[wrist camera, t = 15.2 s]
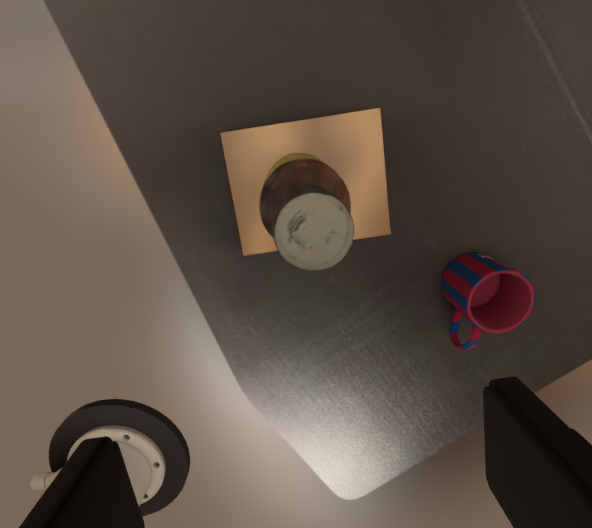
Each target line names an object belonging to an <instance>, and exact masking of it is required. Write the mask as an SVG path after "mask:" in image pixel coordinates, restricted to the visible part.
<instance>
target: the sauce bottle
mask: <svg viewBox="0 0 592 528" xmlns="http://www.w3.org/2000/svg"><path fill="white" fill-rule="evenodd" d="M259 208H260V215H261V219H262V222H263V225H264V227H265V229H266V230H267V232H268V233H269V234H270V235H271V236H272V237H273V238H274V242H275V245H276V247H277V250H278V252H279V253H280V255H281V256H282V257H283V258H284V259H285V260H286V261H287V262H289V263H290V264H291V265H293V266H295V267H297V268H298V269H303V270H310V271H319V270H323V269H327V268H330V267H332V266H333V265H336V264H337V263H338V262H340V261H341V260H342V259H343V258H344V256H345V255H346V254H347V253H348V251H349V249H350V247H351V245H352V243H353V237H354V223H353V219H352V216H351V214H350V212H351V201H350V194H349V191H348V189H347V186H346V184H345V183H344V181H343V179H342V178H341V177H340V176H339V175H338V173H337V172H336V171H335V170H334V169H333V168H332V167H330V166H329V165H327V164H326V163H324V162H323V161H321V160H320V159H318V158H316V157H315V156H313V155H310V154H305V153H294V154H289V155H287V156H284V157H282V158H281V159H279V160H278V161H277V162H276V163H275V164H274V165H273V166H272V168H271V169H270V171H269V173H268V175H267V177H266V180H265V182H264V185H263V188H262V191H261V195H260V202H259Z"/></svg>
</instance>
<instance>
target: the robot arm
mask: <svg viewBox="0 0 592 528" xmlns="http://www.w3.org/2000/svg"><path fill="white" fill-rule="evenodd" d="M483 400H484V429H485V430H484V431H485V463H486V478H487V481H488V484H489V487H490V489H491V491H492V493H493V494H494V496H495V498H496V499H497V501H498V503H499V504H500V506H501V508H502V509H503V511H504V512H505V514H506V516H507V518H508V519H509V521H510V522H511V524H512V526H513V527H514V528H592V445H591V444H590V443H589V442H587V440H585V439H584V438H583V437H582V436H581V435H580V434H579V433H578V432H576V431H575V430H574V429H571V428H569V427H568V426H567V425H566V424H565V423H564V422H563V421H562V420H561V419H560V418H559V417H558V416H557V415H556V414H554V413H553V412H552V411H551V410H550V409H549V408H548V407H547V406H546V405H545V404H544V403H543V402H542V401H541V400H540V399H539V398H538V397H537V396H536V395H535V394H534V393H533V392H532V391H531V390H530V389H529V388H528V387H527V386H526V385H525V384H523V383H522V382H521V381H520V380H519V379H518V378H517V377H507V378H501V379H494V380H491V381H490V383H489V386H488V387H485V388H484V390H483ZM165 472H166V464H165V460H164V456H163V454H162V452H161V450H160V449H159V447H158V446H157V445H156V443H155V442H153V441H152V440H151V439H150V438H149V437H148V436H146V435H145V434H143V433H142V432H139V431H137V430H135V429H132V428H129V427H125V426H118V425H106V426H101V427H96V428H94V429H92V430H89V431H87V432H86V433H84V434H83V435H82V436H81V437H80V438H79V439H78V440H77V441H76V442H75V444H74V445H73V446H72V448H71V450H70V452H69V454H68V458H67V462H66V463H65V465H64V466H63V468H61V469H59V470H58V471H57V472H54V473H51V472H48V473H39V474H36V475H34V476H33V477H32V480H31V484H30V487H31V489H32V490H33V491H36V490H43V489H47V490H46V491H45V493H44V494H43V495H42V497H41V498H40V499H39V501H38V502H37V503H36V505H35V507H34V508H33V509H32V510H31V512H30V513H29V515H28V516H27V517H26V519H25V520H24V522H23V523H22V524H21V526H20V527H19V528H145V527H144V521H143V517H142V514H141V511H140V508H139V506H140V504H142V503H144V502H146V501H148V500H149V499H151V498H152V497H153V496H154V495H155V494H156V493H157V492H158V490H159V489H160V487H161V485H162V482H163V480H164V477H165Z"/></svg>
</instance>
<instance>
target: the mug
mask: <svg viewBox="0 0 592 528" xmlns="http://www.w3.org/2000/svg"><path fill="white" fill-rule="evenodd" d="M442 290H443V293H444V295H445V297H446V298H447V299H448V301H449V302H450V303H451V304H452V305H453V306H454V307H455V308H456V309H455V312H454V314H453V317H452V320H451V324H450V339H451V342H452V344H453V345H454V346H455V347H457V348H458V349H460V350H464V351H469V350H471V349H472V348H474V347H475V345H476V344H477V342H478V340H479V338H480V336H481V333H482V331H485V332H488V333H504V332H507V331H510V330H513V329H514V328H516V327H518V326H519V325H521V324H522V323H523V322H524V321H525V320H526V319H527V317H528V316H529V315H530V313H531V311H532V309H533V306H534V302H535V292H534V288H533V286H532V283H531V282H530V281H529V279H528V278H527V277H526V276H524V275H523V274H521V273H519V272H517V271H516V270H514V269H512V268H510V267H508V266H506V265H504V264H502V263H501V262H499V261H497V260H495V259H493V258H491V257H489V256H487V255H485V254H482V253H467V254H464V255H461V256H459V257H458V258H456V259H455V260H453V261H452V262H451V263H450V264H449V265H448V267H447V268H446V270H445V272H444V274H443V278H442ZM463 315H464V316H465V317H466V318H467V319H468V320H469V321H470V322H471V323H472V331H471V334H470V337H469V339H468V340H467V342H466V343H465V344H463V345H462V344H461V343H460V341H459V339H458V328H459V324H460V321H461V319H462V317H463Z"/></svg>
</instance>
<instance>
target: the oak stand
mask: <svg viewBox="0 0 592 528" xmlns="http://www.w3.org/2000/svg"><path fill="white" fill-rule="evenodd" d="M220 135H221V140H222V145H223V151H224V156H225V161H226V166H227V172H228V177H229V182H230V187H231V193H232V198H233V203H234V208H235V214H236V219H237V224H238V229H239V234H240V240H241V245H242V250H243V255H244V256H246V255H253V254H259V253H266V252H273V251H278V250H277V247H276V245H275V242H274V238H273V237H272V236H271V235H270V234H269V233H268V232H267V230H266V229H265V227H264V225H263V222H262V219H261V215H260V208H259V202H260V195H261V191H262V188H263V185H264V182H265V180H266V177H267V175H268V173H269V171H270V169H271V168H272V166H273V165H274V164H275V163H276V162H277V161H278V160H279V159H281V158H282V157H284V156H287V155H289V154H294V153H305V154H310V155H313V156H315V157H316V158H318V159H320V160H321V161H323V162H324V163H326V164H327V165H329V166H330V167H332V168H333V169H334V170H335V171H336V172H337V173H338V175H339V176H340V177H341V178H342V179H343V181H344V183H345V184H346V186H347V189H348V191H349V194H350V201H351V212H350V214H351V216H352V219H353V223H354V237H353V240H355V239H362V238H369V237H376V236H383V235H389V234H391V232H390V220H389V208H388V196H387V183H386V171H385V159H384V147H383V135H382V123H381V111H380V108H375V109H369V110H363V111H356V112H350V113H343V114H337V115H331V116H324V117H318V118H311V119H305V120H299V121H292V122H286V123H279V124H273V125H266V126H260V127H254V128H247V129H241V130H234V131H228V132H222V133H220Z"/></svg>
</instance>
